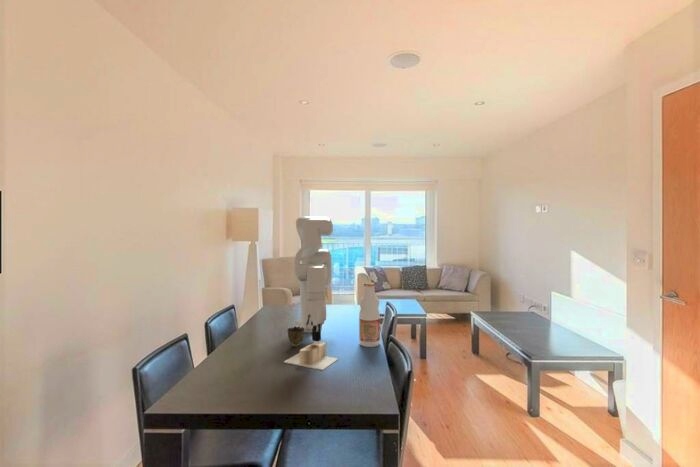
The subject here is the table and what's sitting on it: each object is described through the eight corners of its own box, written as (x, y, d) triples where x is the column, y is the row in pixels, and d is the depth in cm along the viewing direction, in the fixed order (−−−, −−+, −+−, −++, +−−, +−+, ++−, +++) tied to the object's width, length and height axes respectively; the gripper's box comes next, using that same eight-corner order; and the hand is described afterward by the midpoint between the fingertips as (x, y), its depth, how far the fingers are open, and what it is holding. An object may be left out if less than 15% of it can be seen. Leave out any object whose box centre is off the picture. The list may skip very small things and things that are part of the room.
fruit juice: (355, 343, 158) (355, 282, 158) (371, 339, 163) (371, 281, 163) (367, 349, 150) (367, 285, 150) (384, 345, 155) (383, 283, 155)
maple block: (316, 353, 144) (299, 362, 134) (315, 341, 144) (299, 349, 134) (326, 354, 142) (310, 364, 132) (326, 342, 142) (310, 351, 132)
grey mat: (283, 362, 135) (283, 361, 135) (301, 352, 146) (301, 351, 146) (322, 370, 127) (322, 369, 127) (338, 359, 138) (338, 358, 138)
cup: (284, 347, 153) (284, 329, 153) (294, 342, 159) (294, 325, 159) (297, 350, 149) (297, 331, 149) (307, 345, 156) (307, 327, 156)
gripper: (318, 292, 148) (318, 334, 149) (298, 298, 135) (298, 344, 135) (333, 293, 145) (333, 336, 145) (314, 299, 132) (314, 347, 132)
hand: (316, 340), depth 140 cm, fingers closed
